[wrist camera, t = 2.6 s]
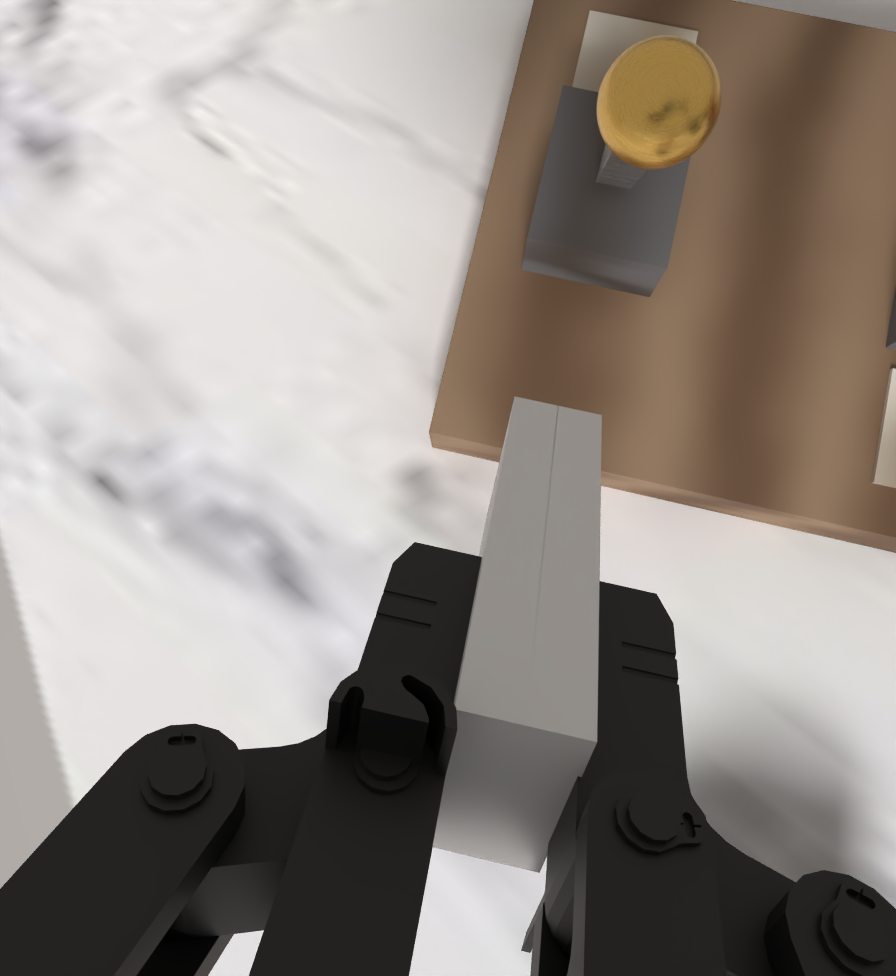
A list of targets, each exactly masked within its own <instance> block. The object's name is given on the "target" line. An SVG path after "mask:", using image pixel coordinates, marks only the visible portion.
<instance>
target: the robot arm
mask: <svg viewBox="0 0 896 976" xmlns="http://www.w3.org/2000/svg"><path fill="white" fill-rule="evenodd" d="M601 433H602V415H599V414H595V413H590V412H585V411H581V410H576V409H571V408H567V407H562V406H557V405H553V404H548V403H543V402H539V401H534V400H529V399H525V398H520V397H514V401H513V406H512V410H511V414H510V419H509V423H508V427H507V432H506V436H505V440H504V444H503V449H502V453H501V457H500V462H499V466H498V470H497V475H496V479H495V483H494V488H493V492H492V496H491V501H490V505H489V509H488V513H487V518H486V523H485V528H484V533H483V538H482V543H481V548H480V553H479V556H474V555H470V554H466V553H461V552H457V551H452V550H448V549H443V548H439V547H434V546H430V545H425V544H421V543H416V542H415V543H413V544H412V545H411V546H410V547H409V548H408V549H407V550H406V551H405V552H404V553H403V554H402V555H401V556H400V557H399V558H398V559H396V560H395V561H394V562H393V564H392V567H391V571H390V574H389V577H388V580H387V583H386V586H385V589H384V593H383V595H382V598H381V601H380V604H379V607H378V610H377V614H376V618H375V619H374V622H373V625H372V628H371V631H370V634H369V637H368V640H367V643H366V646H365V649H364V653H363V656H362V659H361V662H360V665H359V668H358V670H357V671H356V672H354V673H353V674H351V675H350V676H348V677H347V678H345V679H344V680H342V681H341V682H340V684H339V685H338V687H337V689H336V690H335V692H334V693H333V695H332V697H331V698H330V700H329V709H328V720H327V729H326V730H324V731H323V732H321V733H320V734H318V735H317V736H315V737H313V738H310V739H308V740H305V741H303V742H301V743H298V744H292V745H286V746H281V747H269V748H255V749H242V750H238V748H237V746H236V744H235V743H234V742H233V741H232V740H230V739H229V738H228V737H226V736H225V735H224V734H223V733H221V732H220V731H219V730H216V729H212V728H209V727H205V726H202V725H198V724H185V725H170V726H168V727H165V728H162V729H160V730H157V731H155V732H152V733H150V734H147V735H145V736H144V737H142V738H141V739H140V740H139V741H137V742H136V743H135V744H134V745H132V746H131V747H130V748H129V749H127V750H126V751H125V752H124V753H123V754H122V755H121V756H120V757H119V758H118V760H117V761H116V762H115V763H114V764H113V765H112V766H111V767H110V768H109V769H108V771H107V772H106V773H105V774H104V775H103V776H102V777H101V778H100V779H99V780H98V782H97V783H96V784H95V785H94V786H93V787H92V788H91V789H90V790H89V792H88V793H87V794H86V795H85V796H84V797H83V798H82V799H81V800H80V801H79V803H78V804H77V805H76V806H75V807H74V808H73V809H72V810H71V811H70V813H69V814H68V815H67V816H66V817H65V818H64V819H63V820H62V821H61V822H60V824H59V825H58V826H57V827H56V828H55V829H54V830H53V831H52V832H51V834H50V835H49V836H48V837H47V838H46V839H45V840H44V841H43V842H42V843H41V845H40V846H39V847H38V848H37V849H36V850H35V851H34V852H33V853H32V855H31V856H30V857H29V858H28V859H27V860H26V861H25V862H24V863H23V864H22V866H21V867H20V868H19V869H18V870H17V871H16V872H15V873H14V874H13V876H12V877H11V878H10V879H9V880H8V881H7V882H6V883H5V884H4V885H3V887H2V888H1V889H0V976H208V975H209V973H210V971H211V970H212V968H213V967H214V965H215V963H216V962H217V960H218V959H219V957H220V955H221V954H222V952H223V951H224V949H225V947H226V946H227V944H228V943H229V941H230V939H231V938H232V936H233V935H234V934H237V933H245V932H253V931H261V930H264V932H263V935H262V938H261V941H260V944H259V947H258V950H257V953H256V956H255V959H254V962H253V965H252V968H251V971H250V974H249V976H409V971H410V966H411V960H412V955H413V950H414V944H415V939H416V933H417V928H418V923H419V917H420V912H421V906H422V901H423V895H424V890H425V885H426V879H427V874H428V868H429V863H430V858H431V852H432V847H434V848H439V849H443V850H447V851H451V852H455V853H459V854H464V855H468V856H472V857H476V858H480V859H485V860H489V861H493V862H497V863H501V864H505V865H510V866H514V867H518V868H522V869H526V870H531V871H535V872H539V873H540V870H541V868H542V866H543V863H544V861H545V859H546V857H547V871H546V886H545V893H544V895H543V898H542V900H541V902H540V904H539V906H538V908H537V911H536V913H535V915H534V917H533V919H532V921H531V923H530V926H529V928H528V930H527V932H526V936H525V939H524V943H523V946H522V950H521V951H525V952H529V953H530V952H531V950H532V948H533V950H532V963H531V976H896V909H895V908H894V907H893V906H892V905H891V904H890V903H889V902H888V901H887V900H886V899H884V898H883V897H882V896H881V895H880V894H879V893H878V892H877V891H876V890H875V889H873V888H871V887H869V886H868V885H866V884H864V883H862V882H860V881H858V880H857V879H855V878H853V877H851V876H849V875H846V874H840V873H835V872H830V871H825V870H823V871H819V872H814V873H810V874H806V875H803V876H802V877H801V878H800V879H799V880H798V881H797V882H794V881H792V880H790V879H788V878H787V877H785V876H783V875H781V874H780V873H778V872H776V871H774V870H772V869H771V868H769V867H767V866H765V865H763V864H762V863H760V862H758V861H756V860H754V859H753V858H751V857H749V856H747V855H745V854H744V853H742V852H741V851H739V850H738V849H736V848H735V847H733V846H732V845H730V844H729V843H728V842H726V841H725V840H724V839H723V838H722V837H721V836H720V835H719V834H718V833H717V832H716V831H715V830H714V829H713V828H712V827H711V826H710V825H709V824H708V822H707V820H706V817H705V815H704V813H703V812H702V810H701V809H700V808H699V806H698V805H697V803H696V802H695V800H694V799H693V797H692V795H691V792H690V788H689V783H688V779H687V771H686V759H685V748H684V737H683V726H682V715H681V704H680V693H679V685H677V681H678V670H677V660H676V659H675V655H676V648H675V637H674V626H673V622H672V620H671V618H670V617H669V615H668V613H667V611H666V610H665V608H664V606H663V604H662V603H661V601H660V599H659V597H658V596H657V594H655V593H650V592H646V591H641V590H637V589H632V588H628V587H623V586H619V585H614V584H610V583H605V582H601V581H599V575H600V504H601ZM547 854H548V855H547Z"/></svg>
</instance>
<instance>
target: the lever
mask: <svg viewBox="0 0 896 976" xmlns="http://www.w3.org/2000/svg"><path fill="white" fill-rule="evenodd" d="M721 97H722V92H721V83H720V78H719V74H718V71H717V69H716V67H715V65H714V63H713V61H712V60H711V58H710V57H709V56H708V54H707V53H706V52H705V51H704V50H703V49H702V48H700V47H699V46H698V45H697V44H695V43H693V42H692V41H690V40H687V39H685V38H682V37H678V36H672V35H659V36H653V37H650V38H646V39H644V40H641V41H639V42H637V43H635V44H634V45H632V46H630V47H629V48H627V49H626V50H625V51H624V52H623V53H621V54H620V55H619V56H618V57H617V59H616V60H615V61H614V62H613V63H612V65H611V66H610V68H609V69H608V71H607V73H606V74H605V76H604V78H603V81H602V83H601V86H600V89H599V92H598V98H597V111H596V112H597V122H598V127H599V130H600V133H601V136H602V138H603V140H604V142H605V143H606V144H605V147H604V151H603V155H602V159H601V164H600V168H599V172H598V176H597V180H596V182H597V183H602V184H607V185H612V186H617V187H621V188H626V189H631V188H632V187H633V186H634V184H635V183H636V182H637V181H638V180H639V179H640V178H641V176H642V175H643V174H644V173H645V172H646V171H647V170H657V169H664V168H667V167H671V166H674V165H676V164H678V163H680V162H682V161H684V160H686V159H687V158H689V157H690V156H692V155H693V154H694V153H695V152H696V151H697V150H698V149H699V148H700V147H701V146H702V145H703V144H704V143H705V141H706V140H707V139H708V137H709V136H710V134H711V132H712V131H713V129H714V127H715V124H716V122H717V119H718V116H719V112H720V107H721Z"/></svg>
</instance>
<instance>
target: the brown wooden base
mask: <svg viewBox="0 0 896 976" xmlns="http://www.w3.org/2000/svg"><path fill="white" fill-rule="evenodd" d="M659 35H672V36H678V37H682V38H685V39H687V40H690V41H692V42H693V43H695V44H697V45H698V46H699V47H700V48H702V49H703V50H704V51H705V52H706V53H707V54H708V56H709V57H710V58H711V60H712V61H713V63H714V65H715V67H716V69H717V71H718V74H719V78H720V83H721V92H722V97H721V107H720V112H719V116H718V119H717V122H716V124H715V127H714V129H713V131H712V132H711V134H710V136H709V137H708V139H707V140H706V141H705V143H704V144H703V145H702V146H701V147H700V148H699V149H698V150H697V151H696V152H695V153H694V154H693V155H692V156H690V157H689V158H687V159H686V160H684V161H682V162H680V163H678V164H676V165H674V166H671V167H667V168H664V169H657V170H647V171H646V172H645V173H644V174H643V175H642V176H641V178H640V179H639V180H638V181H637V182H636V183H635V184H634V186H633V187H632V188H631V189H626V188H621V187H617V186H612V185H607V184H602V183H597V182H596V180H597V176H598V172H599V168H600V164H601V159H602V155H603V151H604V147H605V144H606V143H605V142H604V140H603V138H602V136H601V133H600V130H599V127H598V122H597V112H596V111H597V98H598V92H599V89H600V86H601V83H602V81H603V78H604V76H605V74H606V73H607V71H608V69H609V68H610V66H611V65H612V63H613V62H614V61H615V60H616V59H617V57H618V56H619V55H620V54H621V53H623V52H624V51H625V50H626V49H627V48H629V47H630V46H632V45H634V44H635V43H637V42H639V41H641V40H644V39H646V38H650V37H653V36H659ZM514 397H520V398H525V399H529V400H534V401H539V402H543V403H548V404H553V405H557V406H562V407H567V408H571V409H576V410H581V411H585V412H590V413H595V414H599V415H602V433H601V486H605V487H610V488H614V489H619V490H623V491H627V492H632V493H636V494H641V495H645V496H649V497H654V498H658V499H662V500H667V501H671V502H676V503H680V504H684V505H689V506H693V507H698V508H702V509H706V510H711V511H715V512H720V513H724V514H728V515H733V516H737V517H741V518H746V519H750V520H755V521H759V522H763V523H768V524H772V525H777V526H781V527H785V528H790V529H794V530H798V531H803V532H807V533H812V534H816V535H820V536H825V537H829V538H834V539H838V540H842V541H847V542H851V543H856V544H860V545H864V546H869V547H873V548H877V549H882V550H886V551H891V552H895V553H896V32H892V31H886V30H881V29H876V28H871V27H866V26H861V25H856V24H850V23H845V22H840V21H835V20H830V19H825V18H819V17H814V16H809V15H804V14H799V13H794V12H788V11H783V10H778V9H773V8H768V7H763V6H757V5H752V4H747V3H742V2H737V1H732V0H534V2H533V6H532V11H531V15H530V19H529V23H528V27H527V31H526V35H525V39H524V43H523V48H522V52H521V56H520V60H519V64H518V68H517V72H516V76H515V80H514V85H513V89H512V93H511V97H510V101H509V105H508V109H507V113H506V117H505V121H504V126H503V130H502V134H501V138H500V142H499V146H498V150H497V154H496V158H495V163H494V167H493V171H492V175H491V179H490V183H489V187H488V191H487V195H486V200H485V204H484V208H483V212H482V216H481V220H480V224H479V228H478V232H477V237H476V241H475V245H474V249H473V253H472V257H471V261H470V265H469V269H468V274H467V278H466V282H465V286H464V290H463V294H462V298H461V302H460V306H459V311H458V315H457V319H456V323H455V327H454V331H453V335H452V339H451V343H450V348H449V352H448V356H447V360H446V364H445V368H444V372H443V376H442V380H441V384H440V389H439V393H438V397H437V401H436V405H435V409H434V413H433V417H432V421H431V426H430V430H429V434H430V439H431V444H432V447H434V448H439V449H443V450H448V451H452V452H456V453H461V454H465V455H469V456H474V457H478V458H483V459H487V460H491V461H496V462H500V457H501V453H502V449H503V444H504V440H505V436H506V432H507V427H508V423H509V419H510V414H511V410H512V406H513V401H514Z"/></svg>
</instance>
